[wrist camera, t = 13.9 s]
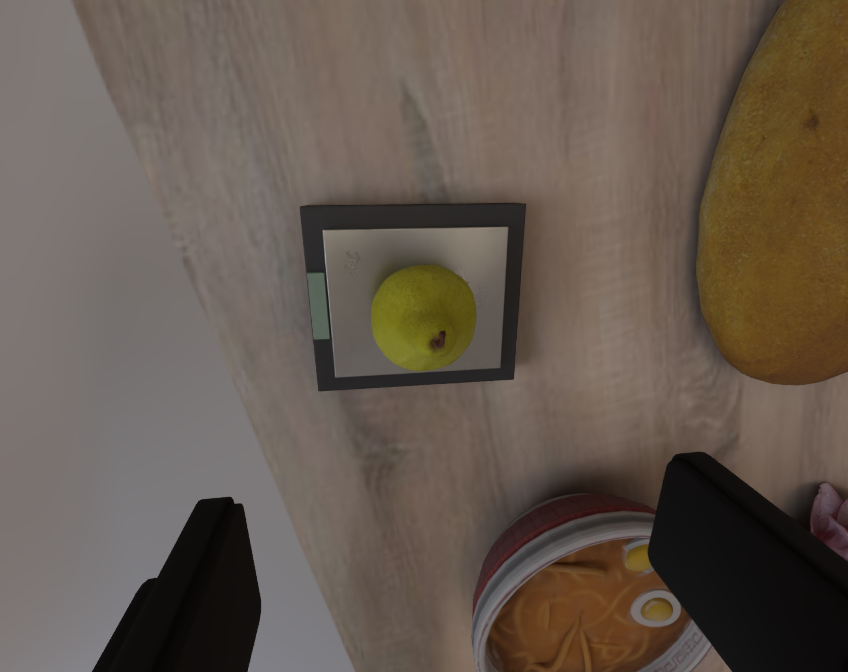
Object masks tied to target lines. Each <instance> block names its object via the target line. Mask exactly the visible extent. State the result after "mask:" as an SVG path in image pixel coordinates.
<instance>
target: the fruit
mask: <svg viewBox="0 0 848 672" xmlns="http://www.w3.org/2000/svg"><path fill="white" fill-rule="evenodd" d="M476 315H477V314H476V304H475V300H474V296H473V293H472V291H471V289H470V287H469V285H468V283H467V282H466V281H465V280H464V279H462V278H461V277H460V276H459V275H457V274H456V273H454V272H453V271H451V270H450V269H447V268H445V267H442V266H439V265H428V264H427V265H416V266H411V267H407V268H404V269H401V270H399V271H396V272H395V273H393V274H392V275H390V276H389V277H387V279H386V280H385V281H384V282H383V283H382V285H381V286H380V288H379V289H378V291H377V293H376V295H375V297H374V299H373V301H372V307H371V326H372V332H373V336H374V339H375V341H376V343H377V345H378V347H379V348H380V350H381V351H382V352H383V354H384V355H385V356H386V357H387V358H388V359H389V360H390V361H392V362H393V363H394V364H396V365H398V366H401V367H403V368H405V369H408V370H412V371H420V372H422V371H429V370H435V369H440V368H443V367H445V366H448V365H450V364H452V363H453V362H454V361H456V360H457V359H458V358H459V357H460V356H461V355H462V354H463V353H464V351H465V350H466V349H467V348H468V346H469V345H470V343H471V341H472V339H473V335H474V330H475V325H476Z"/></svg>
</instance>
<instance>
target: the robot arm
mask: <svg viewBox="0 0 848 672" xmlns="http://www.w3.org/2000/svg"><path fill="white" fill-rule="evenodd" d="M647 553H648V559H649V562H650V564H651V566H652V567H653V569H654V570H655V572H656V573H657V574H658V576H659V577H660V578H661V579H662V581H663V582H664V583H665V585H666V586H667V587H668V589H669V590H670V591H671V592H672V594H673V595H674V596H675V598H676V599H677V600H678V602H679V603H680V604H681V606H682V607H683V608H684V609H685V611H686V612H687V613H688V615H689V616H690V617H691V619H692V620H693V621H694V622H695V624H696V625H697V626H698V628H699V629H700V630H701V632H702V633H703V634H704V636H705V637H706V638H707V639H708V641H709V642H710V643H711V645H712V646H713V647H714V649H715V650H716V651H717V652H718V654H719V655H720V656H721V658H722V659H723V660H724V662H725V663H726V664H727V666H728V667H729V668H730V669H731V671H732V672H848V561H847V560H845V559H844V558H843V557H841V556H840V555H839V554H838V553H836V552H835V551H834V550H832V549H831V548H830V547H828V546H827V545H826V544H825V543H823V542H822V541H821V540H819V539H818V538H817V537H815V536H814V535H813V534H811V533H810V532H809V531H808V530H806V529H805V528H804V527H802V526H801V525H800V524H798V523H797V522H796V521H795V520H793V519H792V518H791V517H789V516H788V515H787V514H785V513H784V512H783V511H781V510H780V509H779V508H778V507H776V506H775V505H774V504H772V503H771V502H770V501H768V500H767V499H766V498H765V497H763V496H762V495H761V494H759V493H758V492H757V491H755V490H754V489H753V488H751V487H750V486H749V485H748V484H746V483H745V482H744V481H742V480H741V479H740V478H738V477H737V476H736V475H735V474H733V473H732V472H731V471H729V470H728V469H727V468H725V467H724V466H723V465H721V464H720V463H719V462H718V461H716V460H715V459H714V458H712V457H711V456H710V455H708V454H706V453H705V452H691V453H681V454H676V455H675V456H674V457H673V458H672V460H671V461H670V462H669V463H668V464H667V467H666V471H665V475H664V480H663V484H662V489H661V493H660V497H659V502H658V506H657V510H656V515H655V519H654V524H653V528H652V532H651V537H650V541H649V545H648V551H647ZM260 615H261V597H260V593H259V587H258V582H257V576H256V571H255V565H254V560H253V555H252V549H251V544H250V539H249V533H248V529H247V523H246V517H245V512H244V507H243V505H242V504H234V500H233V499H232V497H222V498H211V499H202V500H200V501H198V503H197V504H196V506H195V508H194V510H193V512H192V513H191V515H190V517H189V519H188V521H187V523H186V525H185V526H184V528H183V530H182V532H181V534H180V536H179V538H178V540H177V542H176V544H175V545H174V547H173V549H172V551H171V553H170V555H169V557H168V559H167V561H166V562H165V564H164V566H163V568H162V570H161V572H160V574H159V576H158V577H157V578H153V579H148V580H147V581H146V582H144V583H143V584H142V585H141V587H140V588H139V590H138V591H137V593H136V594H135V596H134V598H133V600H132V602H131V603H130V605H129V607H128V608H127V610H126V612H125V614H124V616H123V618H122V619H121V621H120V623H119V625H118V626H117V628H116V630H115V632H114V634H113V635H112V637H111V639H110V641H109V643H108V644H107V646H106V648H105V650H104V652H103V653H102V655H101V657H100V658H99V660H98V662H97V664H96V665H95V667H94V669H93V671H92V672H247V671H248V667H249V663H250V659H251V654H252V650H253V646H254V642H255V638H256V633H257V629H258V625H259V621H260Z"/></svg>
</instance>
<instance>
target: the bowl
mask: <svg viewBox="0 0 848 672" xmlns="http://www.w3.org/2000/svg"><path fill="white" fill-rule="evenodd" d="M655 515H656V510H654V509H653V508H651V507H649V506H647V505H643V504H640V503H637V502H634V501H631V500H628V499H624V498H621V497H617V496H614V495H606V494H588V493H581V494H570V495H564V496H560V497H556V498H552V499H549V500H547V501H544V502H542V503H540V504H537V505H535V506H533V507H532V508H530V509H529V510H527V511H525V512H524V513H522V514H521V515H519V516H518V517H517V518H516V519H515V520H514V521H513V522H511V523H510V524H509V525H508V526H507V528H506V529H505V530H504V531H503V533H502V534H501V535H500V536H499V538H498V539H497V540H496V542H495V543H494V545H493V546H492V548H491V550H490V551H489V553H488V555H487V557H486V559H485V561H484V563H483V566H482V570H481V573H480V576H479V579H478V583H477V586H476V590H475V593H474V599H473V617H472V636H471V638H472V645H473V653H474V660H475V664H476V668H477V672H693V671H694V670H695V669H696V668H697V667H698V666H699V665H700V664H701V663H702V662H703V660H704V659H705V658H706V657H707V655H708V654H709V653H710V652H711V650H712V649H713V648H714V647H713V646H712V645H711V643H710V642H709V641H708V639H707V638H706V637H705V636H704V634H703V633H702V632H701V630H700V629H699V628H698V626H697V625H696V624H695V622H694V621H693V620H692V619H691V617H690V616H689V615H688V613H687V612H686V611H685V609H684V608H683V607H682V606H681V604H680V603H679V602H678V600H677V599H676V598H675V596H674V595H673V594H672V592H671V591H670V590H669V589H668V587H667V586H666V585H665V583H664V582H663V581H662V579H661V578H660V577H659V576H658V574H657V573H656V572H655V570H654V569H653V567H652V566H651V564H650V562H649V559H648V553H647V551H648V545H649V541H650V537H651V532H652V528H653V524H654V519H655Z"/></svg>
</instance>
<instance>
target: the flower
mask: <svg viewBox="0 0 848 672" xmlns="http://www.w3.org/2000/svg"><path fill="white" fill-rule="evenodd" d="M818 487H819V489H818V491H819V494H818V495H817V496H816V497H815V498H814V501H813V504H812V508H811V514H810V529H811V532H810V533H811V534H813V535H814V536H815V537H817V538H818V539H819V540H821V541H822V542H823V543H825V544H826V545H827V546H828V547H830V548H831V549H832V550H834V551H835V552H836V553H838V554H839V555H840V556H841V557H843V558H844V559H845V560H847V561H848V499H847V500H843V499H842V498H840V497H839V495H838V494H837V492H836V490H835V489H834V488H833V487H832V486H831V485H830V484H828V483H822V484H821V485H820V486H818Z"/></svg>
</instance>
